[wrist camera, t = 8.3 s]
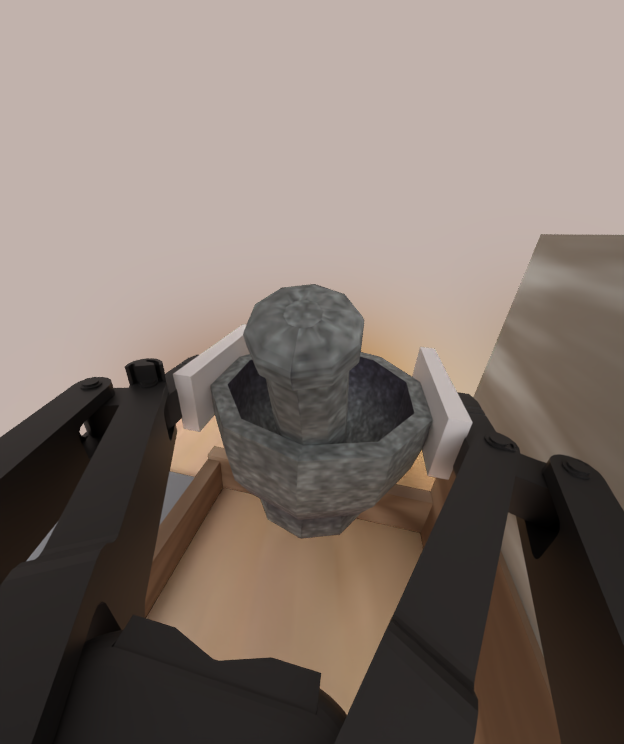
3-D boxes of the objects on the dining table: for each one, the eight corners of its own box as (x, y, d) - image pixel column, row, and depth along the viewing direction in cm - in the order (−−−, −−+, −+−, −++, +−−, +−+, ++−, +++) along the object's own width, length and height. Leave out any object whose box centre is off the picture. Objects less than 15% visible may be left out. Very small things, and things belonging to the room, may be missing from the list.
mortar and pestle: (262, 421, 21) (258, 248, 15) (388, 442, 20) (433, 263, 14) (169, 591, 11) (60, 280, 5) (409, 653, 10) (589, 338, 4)
